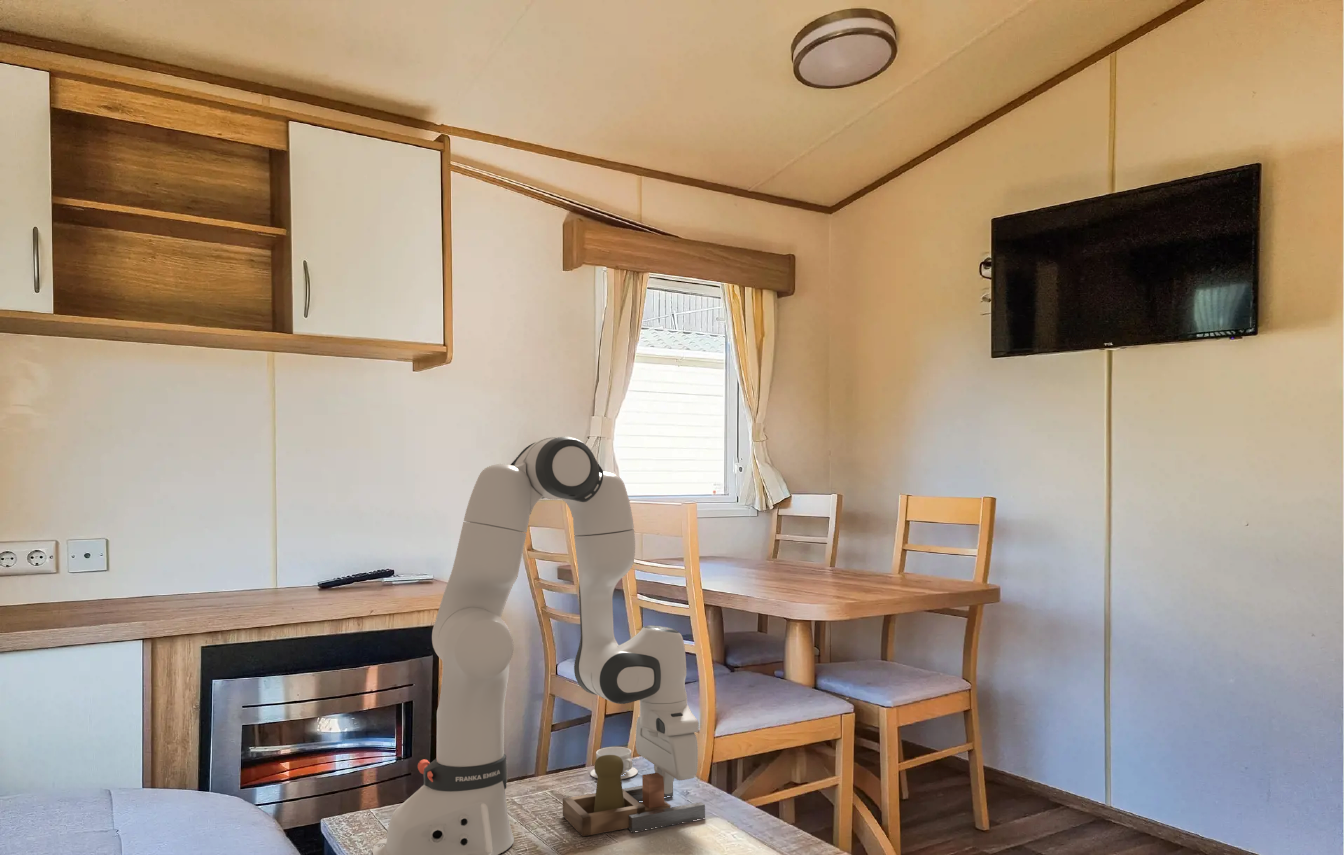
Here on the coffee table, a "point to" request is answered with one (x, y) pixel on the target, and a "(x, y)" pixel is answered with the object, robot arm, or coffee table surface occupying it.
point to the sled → (590, 823)
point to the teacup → (623, 754)
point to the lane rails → (662, 813)
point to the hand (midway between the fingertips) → (665, 791)
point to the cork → (608, 783)
